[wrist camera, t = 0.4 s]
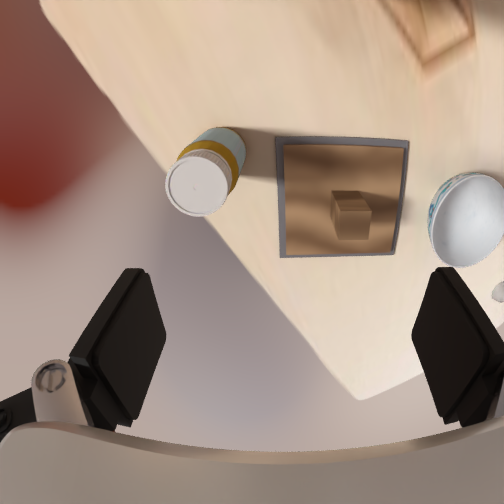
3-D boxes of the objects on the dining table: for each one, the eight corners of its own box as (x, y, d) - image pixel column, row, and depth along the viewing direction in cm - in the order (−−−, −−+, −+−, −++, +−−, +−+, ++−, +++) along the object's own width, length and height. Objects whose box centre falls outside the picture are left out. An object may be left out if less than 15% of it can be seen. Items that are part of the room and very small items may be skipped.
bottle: (227, 116, 38) (203, 137, 26) (256, 157, 41) (247, 198, 28) (187, 144, 41) (147, 178, 28) (215, 182, 43) (189, 232, 31)
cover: (283, 144, 39) (284, 158, 33) (401, 147, 38) (424, 162, 31) (286, 252, 48) (287, 282, 42) (388, 249, 47) (403, 278, 40)
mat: (275, 137, 39) (275, 137, 39) (407, 140, 38) (408, 141, 37) (279, 256, 49) (279, 257, 49) (392, 253, 48) (393, 255, 47)
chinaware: (486, 155, 37) (513, 171, 30) (479, 235, 44) (501, 258, 38) (410, 163, 39) (433, 180, 33) (411, 248, 47) (427, 276, 40)
